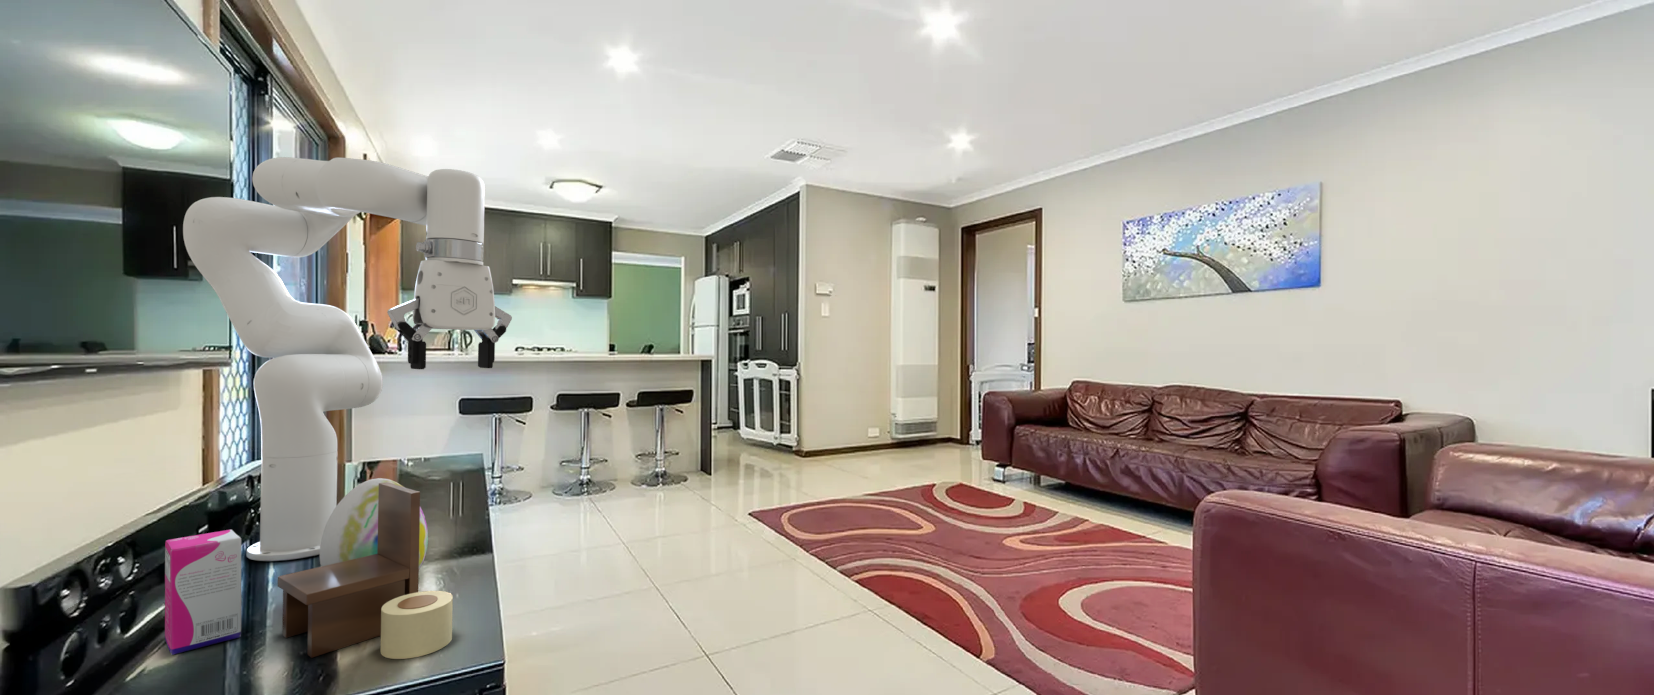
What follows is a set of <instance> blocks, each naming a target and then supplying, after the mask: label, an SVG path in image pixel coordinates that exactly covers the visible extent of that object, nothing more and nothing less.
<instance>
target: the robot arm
mask: <svg viewBox="0 0 1654 695" xmlns="http://www.w3.org/2000/svg"><path fill="white" fill-rule="evenodd" d="M251 180H252V185H253V187H254V189H255V191H256V193H258V195H259V196H260V197H261V198H262V199H263V200H265V201H266V202H268V203H269V204H268V203H263V202H258V201H253V200H248V199H243V198H236V197H229V196H227V197H226V196H224V197H223V196H211V197H205V198H202V199H201V198H200V199H199V200H197V201H195V202H193V203H192V204H191V205H190V206H189V207H188V208H187V210H186V212H185V215H184V218H183V222H182V223H183V224H182V236H183V241H184V246H185V249H186V252H187V254H188V256H189V258H190V259H191V260H190V261H192V263H193V265H194V266H195V268H196V269H197V270H198V271H199V273H200V274H201V275H202V276H203V278H204V279H205V280H206V281H207V283H208V284H209V285H210V286H211V288H212V289H213V290H214V292H215V293H216V295H217V297H218V299H219V301H220V303H221V305H222V307H223V309H224V311H225V313H226V315H227V316H228V319H229V320H230V322H231V325H232V326H233V328H234V330H235V332H236V333H237V334H236V335H238V338H239V339H240V341H241V343H242V344H243V345H244V347H245V348H246V349H247V351H249V352H250V353H251V354H253V355H254V356H257V357H259V358H269V360H267V361H265V362H264V363H263V364H262V365H260V367H258V369H257V370H256V372H255V374H254V378H253V391H254V397H255V400H256V404H257V408H258V414H259V422H260V432H261V433H260V434H261V435H260V436H261V440H260V441H261V443H260V444H261V448H260V450H261V452H260V453H261V454H260V455H261V457H260V458H261V459H260V460H261V463H260V464H261V465H260V466H261V467H260V471H261V472H260V516H259V517H260V520H259V521H260V522H259V541H257V542H255V543H253V544H252V545H250V546H249V547H248V548H246V553H245V554H246V558H248V559H249V560H252V561H257V562H279V561H292V560H297V559H298V560H299V559H304V558H310V557H315V556H320V544H321V539H322V535H323V531H324V529H325V526H326V524H327V521H328V519H329V517H330V515H331V514H332V512H333V510H334V509H335V508H336V506H337V504H338V503H337V502H338V501H337V499H338V497H337V496H338V436H337V433H336V430H335V429H334V427H333V425H332V424H331V422H330V421H329V419H328V418H327V417H326V415H325V413H324V412H330V411H341V410H351V409H357V408H363V407H366V406H369V405H371V404H373V403H374V402H375V401H376V400H377V399H378V398H379V397H380V396H381V393H382V391H383V387H384V386H383V385H384V384H383V383H384V382H383V374H382V371H381V368H380V366H379V363H378V362H377V359H376V358H375V356H374V354H373V353H372V351H371V349H370V347H369V345H368V344H367V342H366V339H365V337H364V336H363V334H362V333H361V330H360V329H359V326H358V325H357V324H356V323H355V321H354V319H353V318H352V317H351V316H350V315H349V314H348V313H347V312H346V311H344V310H343V309H341V308H339V307H337V306H334V305H330V304H324V303H311V302H302V301H299V300H297V299H294V298H293V296H292V295H291V294H290V293H289V291H288V289H287V288H286V286H285V284H284V281H283V280H282V279H281V277H280V276H279V275H278V274H277V273H276V272H275V271H274V269H273V268H271V267H270V266H269V265H267V264H266V263H265V262H264V261H262V260H261V259H259V258H258V257H256V256H255V255H254V254H253V253H258V254H263V255H264V254H265V255H271V256H281V257H285V258H286V257H287V258H304V257H308V256H311V255H313V254H314V253H316V252H318V251H319V250H320V249H321V248H322V247H323V246H325V245H326V244H327V243H328V242H329V241H330V240H331V239H332V238H333V237H334V236H336V234H337V233H339V232H340V231H341V230H342V229H343V228H344V227H345V226H346V225H347V224H349V222H350V221H352V219H353V218H354V217H355V216H356V215H358V214H360V213H366V214H372V215H376V216H380V217H387V218H392V219H396V220H400V221H406V222H409V223H413V224H417V225H421V226H426V227H425V228H426V229H425V230H426V232H425V239H424V241H423V242H421V241H417V242H416V244H415V250H416V252H420V253H423V257H424V258H425V260H421V261H420V264H419V267H418V270H417V276H416V279H415V280H416V281H415V287H414V293H413V299H411V300H409V301H406V302H404V303H401V304H399V305H396V306H393V307H391V308H389V309H387V311H386V313H387V315H388V317H389V319H390V321H391V322H392V324H393V325H394V329H395V330H396V331H397V332H398V333H399V334H400V335H401V336H402V337H403V338H404V340H405V341H407V362H408V364H410V366H409V367H410V369H411V370H425V369H426V368H427V343H426V341H424V340H423V338H424V337H425V336H427V334H429V332H430V331H431V330H432V329H433V330H461V331H472V330H473V331H474V332H475V333H476V335H478V337H479V338H480V340H481V341H479V343H478V345H477V347H478V348H477V351H478V352H477V353H478V354H477V367H478V368H480V369H493V367H494V362H495V359H496V358H495V356H496V354H495V353H496V343H498V342H499V341H500V338H501V337H503V335H504V334H506V332H507V328H509V326H510V323H511V322H512V319H513V316H512V315H511V314H509V313H507V312H506V311H504V310H502V309H501V308H499V307H497V306H496V302H495V292H494V284H493V278H492V273H491V268H490V266H488V265H484V256H485V255H484V254H485V252H484V251H485V205H486V202H485V200H486V187H485V186H486V185H485V182H484V180H483V179H482V178H481V177H480V176H479V175H477V174H475V173H474V172H473V173H472V172H469V171H466V170H461V169H454V168H453V169H452V168H439V169H434V170H433V171H431V172H430V173H429V175H425V174H421V173H418V172H415V171H412V170H410V169H406V168H402V167H399V166H396V165H393V164H389V163H385V162H380V161H375V160H370V159H361V158H360V159H359V158H351V157H333V158H331V159H330V160H322V159H321V160H319V159H311V158H303V157H302V158H300V157H292V156H281V157H280V156H278V157H272V158H268V159H266V160H264V161H262V162H261V163H259V164H258V165H257V166H256V167H255V168H254V171H253V173H252V178H251ZM410 312H412V321H413V324H414V325H413V326H411V325H410V324H409V323H408V322H407V321H406V318H405V315H406V314H408V313H410ZM496 319H497V323H496ZM495 323H496V325H495Z"/></svg>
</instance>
